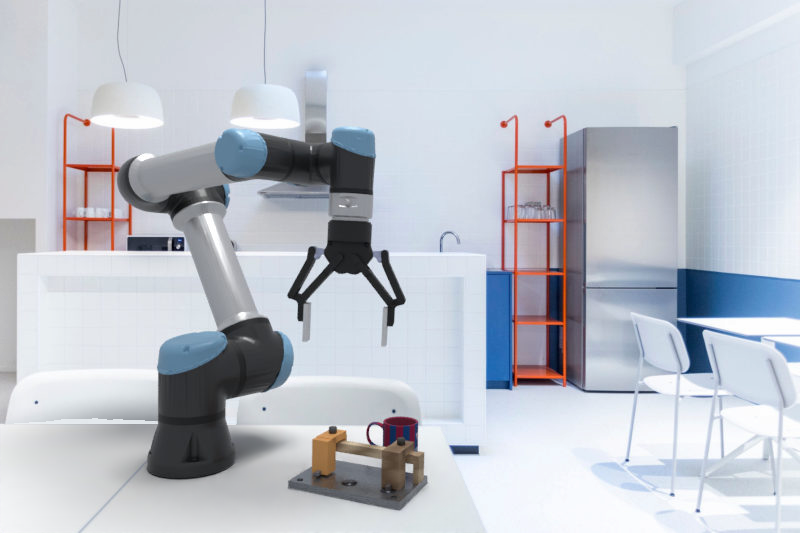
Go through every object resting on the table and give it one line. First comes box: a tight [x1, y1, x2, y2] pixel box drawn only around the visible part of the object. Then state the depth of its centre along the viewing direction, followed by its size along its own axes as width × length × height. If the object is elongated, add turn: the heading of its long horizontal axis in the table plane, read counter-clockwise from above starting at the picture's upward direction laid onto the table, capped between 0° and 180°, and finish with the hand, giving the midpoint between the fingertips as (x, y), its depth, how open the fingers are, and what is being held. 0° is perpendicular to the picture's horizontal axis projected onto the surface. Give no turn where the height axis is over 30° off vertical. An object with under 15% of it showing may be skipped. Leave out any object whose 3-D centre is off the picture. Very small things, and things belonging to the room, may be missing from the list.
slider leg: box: [311, 425, 348, 476], centre depth 105 cm, size 3×8×7 cm, turn 157°
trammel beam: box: [336, 437, 425, 491], centre depth 102 cm, size 20×8×7 cm, turn 67°
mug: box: [365, 416, 419, 452], centre depth 116 cm, size 7×10×7 cm
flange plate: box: [287, 459, 428, 511], centre depth 101 cm, size 20×12×1 cm, turn 67°
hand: (344, 343), depth 105 cm, fingers open, 13 cm apart
